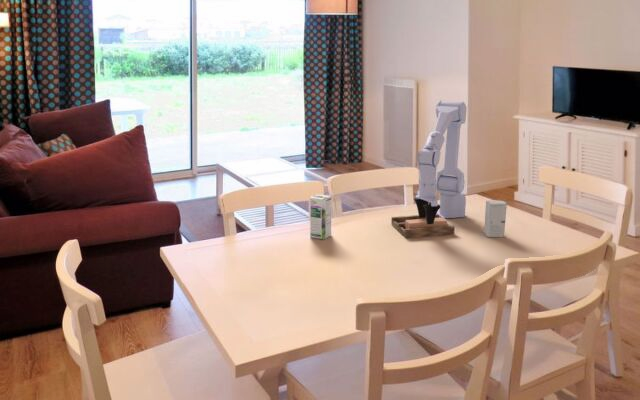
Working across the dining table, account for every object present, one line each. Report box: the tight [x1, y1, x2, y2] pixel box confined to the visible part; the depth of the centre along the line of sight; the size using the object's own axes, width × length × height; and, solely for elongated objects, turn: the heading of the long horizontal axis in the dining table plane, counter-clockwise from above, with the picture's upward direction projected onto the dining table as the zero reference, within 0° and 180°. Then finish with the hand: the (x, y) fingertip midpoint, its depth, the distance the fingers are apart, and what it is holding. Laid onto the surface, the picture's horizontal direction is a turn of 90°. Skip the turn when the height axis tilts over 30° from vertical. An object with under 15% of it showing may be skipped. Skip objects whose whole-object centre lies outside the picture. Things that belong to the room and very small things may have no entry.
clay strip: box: [405, 217, 448, 229], centre depth 231 cm, size 14×4×4 cm, turn 102°
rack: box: [391, 214, 455, 239], centre depth 235 cm, size 18×16×3 cm
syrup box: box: [309, 193, 332, 241], centre depth 227 cm, size 6×6×14 cm
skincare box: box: [483, 200, 508, 238], centre depth 227 cm, size 6×4×12 cm
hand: (426, 220), depth 231 cm, fingers open, 7 cm apart
